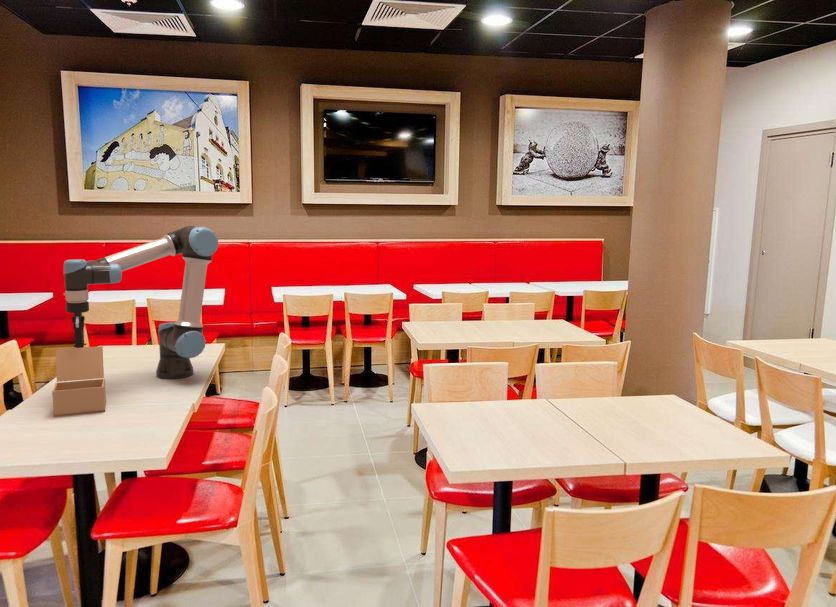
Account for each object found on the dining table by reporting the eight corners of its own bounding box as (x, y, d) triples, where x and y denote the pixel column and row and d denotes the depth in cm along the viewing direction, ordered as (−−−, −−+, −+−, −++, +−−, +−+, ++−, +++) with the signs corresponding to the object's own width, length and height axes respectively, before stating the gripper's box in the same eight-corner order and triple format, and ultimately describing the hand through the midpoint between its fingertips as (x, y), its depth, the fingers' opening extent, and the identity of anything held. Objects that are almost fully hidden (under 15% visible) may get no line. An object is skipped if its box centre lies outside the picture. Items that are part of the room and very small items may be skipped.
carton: (106, 402, 247) (104, 378, 246) (105, 411, 237) (103, 387, 235) (57, 406, 241) (55, 382, 240) (54, 416, 230) (52, 391, 229)
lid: (103, 377, 246) (103, 377, 247) (102, 346, 248) (102, 346, 249) (56, 381, 240) (56, 381, 241) (55, 349, 242) (55, 349, 243)
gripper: (67, 299, 251) (71, 360, 255) (64, 304, 239) (68, 368, 243) (89, 298, 254) (93, 358, 258) (87, 303, 242) (91, 366, 246)
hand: (81, 363), depth 250 cm, fingers closed
